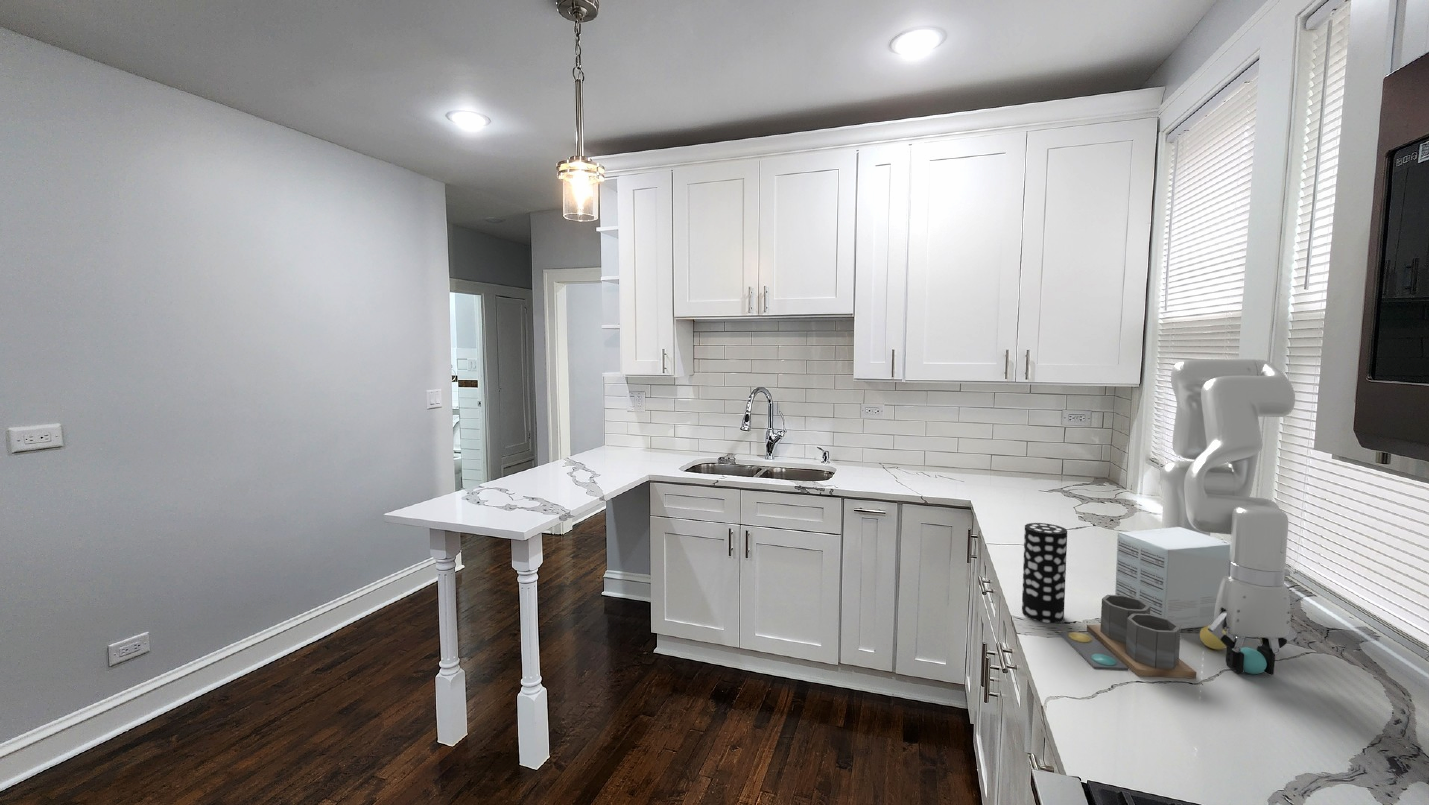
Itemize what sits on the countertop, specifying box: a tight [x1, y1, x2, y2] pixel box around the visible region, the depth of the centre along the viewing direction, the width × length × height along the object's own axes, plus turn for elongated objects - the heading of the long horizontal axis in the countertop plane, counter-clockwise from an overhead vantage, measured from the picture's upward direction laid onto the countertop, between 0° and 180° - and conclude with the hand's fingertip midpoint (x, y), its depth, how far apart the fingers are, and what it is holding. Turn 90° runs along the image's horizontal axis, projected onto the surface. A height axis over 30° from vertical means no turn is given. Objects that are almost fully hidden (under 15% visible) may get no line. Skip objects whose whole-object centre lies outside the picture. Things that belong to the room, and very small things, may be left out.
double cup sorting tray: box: [1086, 594, 1197, 679], centre depth 117 cm, size 10×18×8 cm, turn 174°
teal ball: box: [1241, 647, 1267, 675], centre depth 109 cm, size 4×4×4 cm
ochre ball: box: [1199, 625, 1227, 650], centre depth 118 cm, size 4×4×4 cm
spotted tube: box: [1021, 522, 1068, 624], centre depth 133 cm, size 8×8×20 cm
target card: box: [1058, 631, 1129, 671], centre depth 118 cm, size 6×14×1 cm, turn 174°
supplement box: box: [1114, 527, 1231, 630], centre depth 132 cm, size 17×13×18 cm
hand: (1249, 669), depth 110 cm, fingers closed on teal ball, 4 cm apart
